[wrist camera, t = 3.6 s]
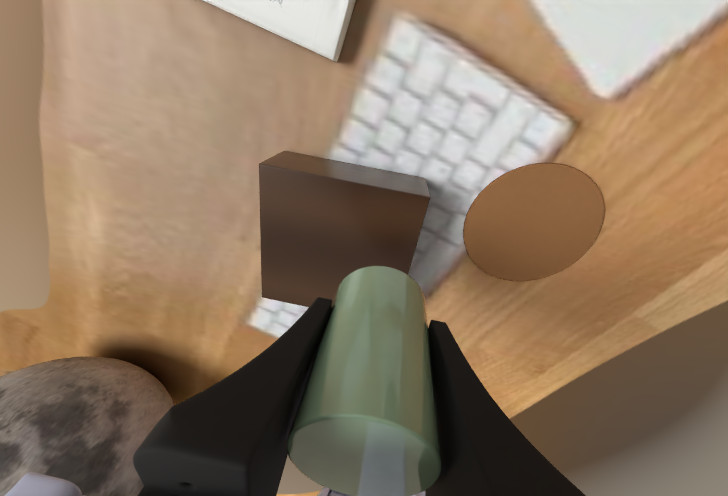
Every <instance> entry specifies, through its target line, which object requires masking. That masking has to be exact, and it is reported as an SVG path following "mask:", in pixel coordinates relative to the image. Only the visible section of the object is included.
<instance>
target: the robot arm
mask: <svg viewBox="0 0 728 496" xmlns="http://www.w3.org/2000/svg"><path fill="white" fill-rule="evenodd" d="M331 306H332V300H331V299H326V298H321V297H318V298H316V300H315V301H314V302H313V303H312V305H311V306H310V307H309V308H308V310H307V311H306V312H305V313H304V314H303V315H302V316H301V317H300V318H299V319H298V320H297V321H296V323H295V324H294V325H293V326H292V327H291V328H290V329H289V330H288V331H286V332H285V333H284V334H283V335H282V336H281V337H280V338H279V339H278V340H277V341H276V342H274V343H273V344H272V345H271V346H270V347H268V348H267V349H266V350H265V351H263V352H262V353H261V354H260V355H258V356H257V357H256V358H254V359H253V360H251V361H250V362H249V363H247V364H246V365H244V366H243V367H242V368H240V369H239V370H237V371H236V372H234V373H233V374H231V375H229V376H228V377H226V378H224V379H223V380H221V381H219V382H218V383H216V384H214V385H213V386H211V387H209V388H208V389H206V390H204V391H202V392H200V393H198V394H196V395H194V396H192V397H190V398H189V399H187V400H185V401H183V402H181V403H179V404H177V405H175V406H173V407H171V408H170V409H169V410H168V412H167V413H166V414H165V415H164V416H163V417H162V418H161V419H160V420H159V422H158V423H157V424H156V425H155V426H154V428H153V429H152V430H151V432H150V433H149V434H148V436H147V437H146V438H145V440H144V441H143V442H142V444H141V445H140V446H139V448H138V449H137V450H136V452H135V453H134V456H133V464H134V467H135V469H136V471H137V473H138V475H139V477H140V479H141V481H142V483H143V485H144V487H143V488H142V490H141V491H140V493H139V494H138V496H276V494H277V491H278V487H279V483H280V480H281V476H282V473H283V469H284V466H285V462H286V458H287V455H288V452H287V438H288V435H289V432H290V429H291V426H292V423H293V420H294V417H295V414H296V411H297V408H298V405H299V402H300V399H301V396H302V393H303V390H304V387H305V384H306V381H307V378H308V375H309V372H310V369H311V366H312V363H313V360H314V357H315V354H316V351H317V348H318V345H319V342H320V339H321V337H322V334H323V331H324V328H325V325H326V322H327V319H328V316H329V313H330V310H331ZM428 334H429V344H430V354H431V363H432V373H433V383H434V393H435V403H436V413H437V423H438V433H439V443H440V453H441V463H442V468H441V473H440V476H439V478H438V480H437V481H436V482H435V484H434V485H432V486H431V487H430V488H429V489H427V490H425V491H423V492H421V493H419V494H416V495H413V496H585V495H584V494H583V493H582V492H581V491H580V490H579V489H578V488H577V487H576V486H575V485H573V484H572V483H571V482H570V481H569V480H568V479H567V478H566V477H565V476H564V475H562V474H561V473H560V472H559V471H558V470H557V469H556V468H555V467H554V466H553V465H552V464H551V463H550V462H549V461H548V460H547V459H546V458H545V457H544V456H543V455H542V454H541V453H540V452H539V451H538V450H537V449H536V448H535V447H534V446H533V445H532V444H531V443H530V442H529V441H528V440H527V439H526V438H525V437H524V435H523V434H522V433H521V432H520V431H519V430H518V429H517V428H516V427H515V425H514V424H513V423H512V422H511V421H510V420H509V418H508V417H507V416H506V415H505V414H504V413H503V411H502V410H501V409H500V407H499V406H498V405H497V404H496V402H495V401H494V400H493V399H492V397H491V396H490V395H489V393H488V392H487V390H486V389H485V388H484V386H483V385H482V383H481V382H480V380H479V379H478V377H477V376H476V374H475V373H474V371H473V370H472V368H471V366H470V365H469V363H468V362H467V360H466V358H465V357H464V355H463V353H462V352H461V350H460V348H459V346H458V344H457V343H456V341H455V339H454V337H453V335H452V334H451V332H450V330H449V328H448V326H447V324H446V323H445V322H440V321H435V320H431V322H430V325H429V328H428ZM5 496H84V495H82V492H81V490H80V488H79V487H78V486H77V485H75V484H74V483H72V482H70V481H67V480H64V479H60V478H56V477H51V476H47V475H43V474H38V473H34V472H30V473H27V474H25V475H24V476H23V477H22V478H21V479H20V481H19V482H18V483H17V484H16V485H15V486H14V487H13V488H12V489H11V490H10V491H9V492H8V493H7V494H6V495H5ZM317 496H351V495H347V494H343V493H340V492H337V491H334V490H331V489H329V488H326V487H324V488H323V489H322V491H321V492H320V493H319V494H318V495H317Z"/></svg>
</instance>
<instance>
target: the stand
mask: <svg viewBox="0 0 728 496" xmlns="http://www.w3.org/2000/svg"><path fill="white" fill-rule="evenodd" d="M259 183H260V228H261V274H262V297H263V298H268V299H273V300H278V301H283V302H287V303H292V304H297V305H302V306H306V307H310V306H311V305H312V303H313V302H314V301H315V300H316V298H318V297H321V298H326V299H331V300H332V304H333V301H334V298H335V295H336V292H337V289H338V287H339V285H340V283H341V282H342V281H343V279H344V278H345V277H347V276H348V275H349V274H351V273H352V272H354V271H356V270H358V269H361V268H364V267H369V266H386V267H391V268H395V269H397V270H400V271H402V272H404V273H406V274H407V275H408V272H409V269H410V265H411V262H412V259H413V255H414V252H415V248H416V245H417V241H418V238H419V234H420V231H421V228H422V224H423V221H424V217H425V214H426V210H427V207H428V204H429V200H430V195H429V191H428V187H427V183H426V179H425V178H421V177H416V176H411V175H406V174H401V173H395V172H390V171H385V170H380V169H375V168H370V167H365V166H359V165H354V164H349V163H344V162H339V161H334V160H329V159H323V158H318V157H313V156H308V155H303V154H298V153H293V152H288V151H283V152H281V153H279V154H277V155H275V156H273V157H271V158H269V159H267V160H265V161H264V162H262V163H260V164H259ZM331 307H332V306H331Z"/></svg>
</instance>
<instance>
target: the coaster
mask: <svg viewBox="0 0 728 496" xmlns="http://www.w3.org/2000/svg"><path fill="white" fill-rule="evenodd" d="M603 219H604V202H603V199H602V195H601V193H600V191H599V189H598V187H597V186H596V184H595V183H594V182H593V181H592V180H591V179H590V178H589V177H588V176H587V175H585V174H584V173H582V172H581V171H579V170H577V169H574V168H572V167H570V166H566V165H562V164H556V163H538V164H531V165H527V166H523V167H519V168H517V169H514V170H511V171H509V172H507V173H505V174H503V175H502V176H500V177H499V178H497V179H495V180H494V181H493V182H491V183H490V184H489V185H488V186H487V187H486V188H485V189H484V190H483V191H482V192H481V193H480V194H479V195H478V196H477V198H476V199H475V200H474V202H473V203H472V205H471V207H470V209H469V211H468V213H467V215H466V219H465V222H464V229H463V238H464V244H465V247H466V250H467V252H468V254H469V256H470V258H471V259H472V261H473V262H474V263H475V264H476V265H477V266H478V267H479V268H480V269H481V270H483V271H484V272H486V273H488V274H490V275H492V276H494V277H497V278H500V279H504V280H510V281H530V280H536V279H541V278H545V277H548V276H550V275H553V274H555V273H558V272H560V271H562V270H564V269H565V268H567V267H569V266H570V265H572V264H573V263H574V262H576V261H577V260H578V259H579V258H580V257H582V256H583V255H584V254H585V253H586V252H587V250H588V249H589V248H590V247H591V245H592V244H593V243H594V241H595V240H596V238H597V236H598V234H599V232H600V229H601V227H602V223H603Z"/></svg>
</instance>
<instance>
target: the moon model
mask: <svg viewBox="0 0 728 496" xmlns="http://www.w3.org/2000/svg"><path fill="white" fill-rule="evenodd" d="M173 406H175V405H174V402H173V400H172V398H171V396H170V395H169V393H168V391H167V390H166V388H165V387H164V386H163V384H162V383H161V382H160V381H159V380H158V379H157V378H155V377H154V376H153V375H152V374H150V373H149V372H147V371H146V370H144V369H142V368H140V367H138V366H136V365H134V364H131V363H129V362H126V361H122V360H118V359H112V358H105V357H72V358H64V359H57V360H52V361H48V362H43V363H39V364H35V365H32V366H29V367H26V368H23V369H20V370H16V371H14V372H11V373H9V374H6V375H4V376H1V377H0V496H5V495H6V494H7V493H8V492H9V491H10V490H11V489H12V488H13V487H14V486H15V485H16V484H17V483H18V482H19V481H20V479H21V478H22V477H23V476H24V475H25V474H27V473H30V472H34V473H38V474H43V475H47V476H51V477H56V478H60V479H64V480H67V481H70V482H72V483H74V484H75V485H77V486H78V487H79V488H80V490H81V492H82V495H84V496H138V494H139V493H140V491H141V490H142V488H143V487H144V485H143V483H142V481H141V479H140V477H139V475H138V473H137V471H136V469H135V467H134V464H133V456H134V453H135V452H136V450H137V449H138V448H139V446H140V445H141V444H142V442H143V441H144V440H145V438H146V437H147V436H148V434H149V433H150V432H151V430H152V429H153V428H154V426H155V425H156V424H157V423H158V422H159V420H160V419H161V418H162V417H163V416H164V415H165V414H166V413H167V412H168V410H169V409H170V408H171V407H173Z"/></svg>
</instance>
